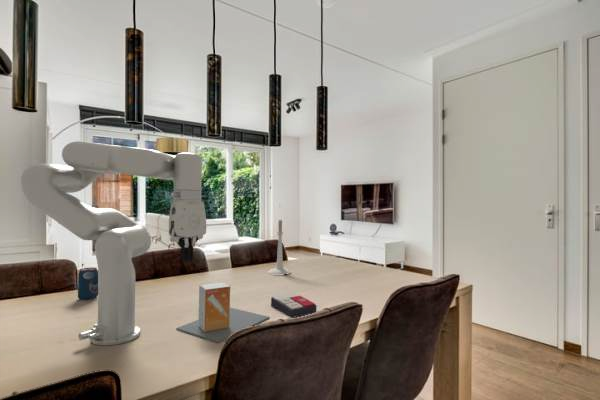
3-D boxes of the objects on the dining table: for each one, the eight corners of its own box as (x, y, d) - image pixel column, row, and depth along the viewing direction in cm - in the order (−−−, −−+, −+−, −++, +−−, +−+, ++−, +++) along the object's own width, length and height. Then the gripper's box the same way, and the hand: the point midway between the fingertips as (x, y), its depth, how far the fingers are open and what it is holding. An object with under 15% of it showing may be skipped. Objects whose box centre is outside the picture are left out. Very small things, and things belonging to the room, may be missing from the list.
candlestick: (282, 269, 196) (282, 218, 196) (295, 273, 186) (296, 219, 186) (263, 272, 187) (264, 219, 188) (276, 276, 178) (277, 220, 178)
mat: (218, 343, 94) (218, 341, 94) (176, 329, 104) (176, 328, 104) (269, 318, 115) (269, 316, 115) (230, 308, 124) (230, 307, 124)
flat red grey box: (291, 308, 116) (270, 295, 128) (291, 320, 116) (270, 306, 128) (317, 303, 122) (295, 291, 134) (316, 314, 122) (294, 301, 134)
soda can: (94, 300, 132) (94, 270, 132) (74, 301, 130) (75, 270, 130) (100, 295, 138) (101, 266, 138) (82, 296, 137) (82, 267, 137)
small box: (204, 333, 100) (205, 289, 100) (198, 326, 105) (198, 284, 105) (230, 327, 105) (230, 286, 105) (222, 321, 110) (223, 281, 110)
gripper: (174, 196, 87) (173, 266, 87) (216, 197, 100) (215, 258, 100) (156, 196, 91) (155, 263, 91) (198, 197, 104) (198, 256, 104)
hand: (187, 260), depth 96 cm, fingers closed
